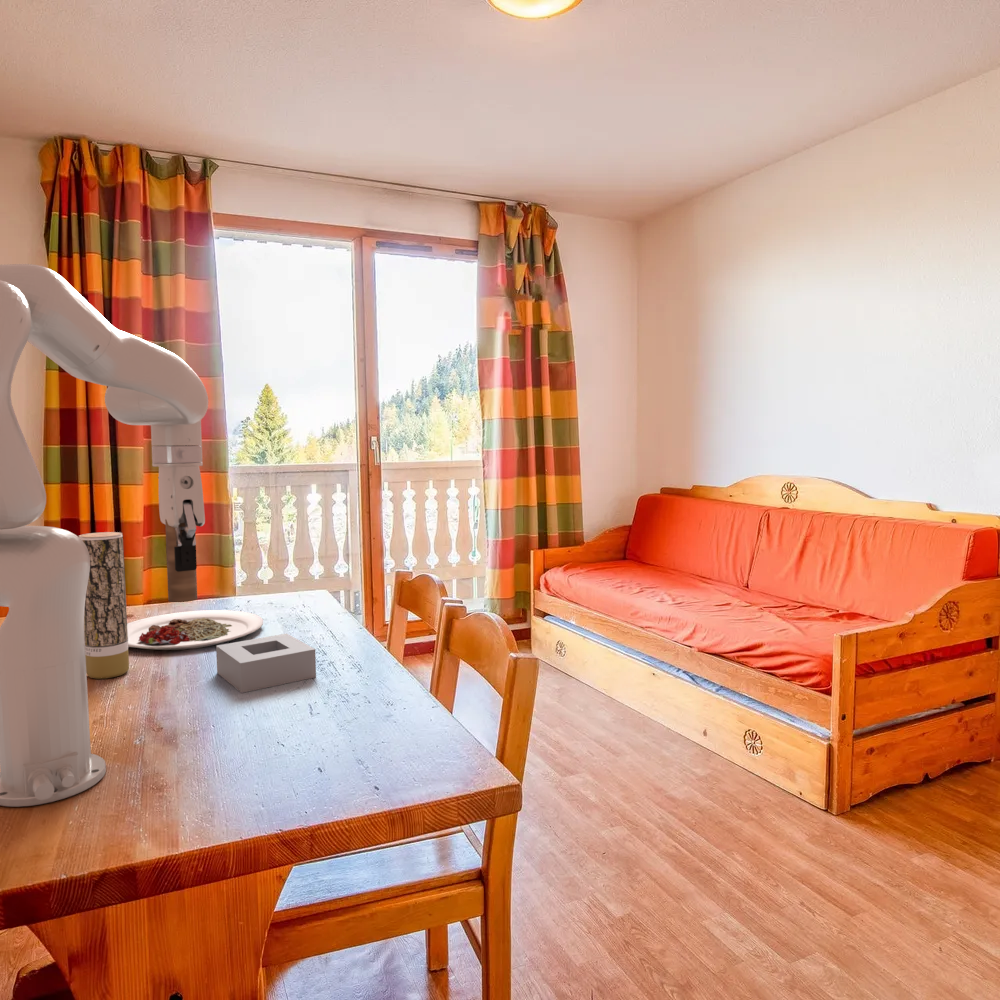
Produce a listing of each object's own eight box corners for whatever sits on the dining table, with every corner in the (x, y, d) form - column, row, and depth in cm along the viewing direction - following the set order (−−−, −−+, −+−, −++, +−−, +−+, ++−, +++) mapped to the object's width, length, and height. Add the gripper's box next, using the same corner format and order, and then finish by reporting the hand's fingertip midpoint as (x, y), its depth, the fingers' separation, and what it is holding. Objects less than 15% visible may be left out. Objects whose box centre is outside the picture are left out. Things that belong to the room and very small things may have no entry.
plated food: (281, 618, 175) (281, 603, 175) (233, 656, 145) (232, 639, 145) (153, 617, 176) (153, 603, 175) (79, 656, 146) (78, 639, 146)
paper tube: (111, 681, 130) (104, 537, 128) (77, 678, 131) (69, 536, 129) (137, 669, 137) (131, 532, 134) (105, 667, 138) (97, 531, 136)
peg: (200, 600, 124) (197, 515, 123) (172, 603, 121) (169, 517, 120) (193, 595, 127) (190, 513, 126) (165, 599, 125) (162, 514, 124)
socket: (316, 677, 132) (315, 649, 131) (241, 692, 124) (240, 663, 123) (287, 659, 142) (286, 633, 142) (217, 673, 134) (216, 645, 134)
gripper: (217, 457, 118) (221, 573, 119) (187, 456, 131) (191, 559, 133) (166, 458, 113) (170, 578, 115) (140, 456, 127) (145, 564, 128)
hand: (181, 567), depth 124 cm, fingers closed on peg, 4 cm apart
